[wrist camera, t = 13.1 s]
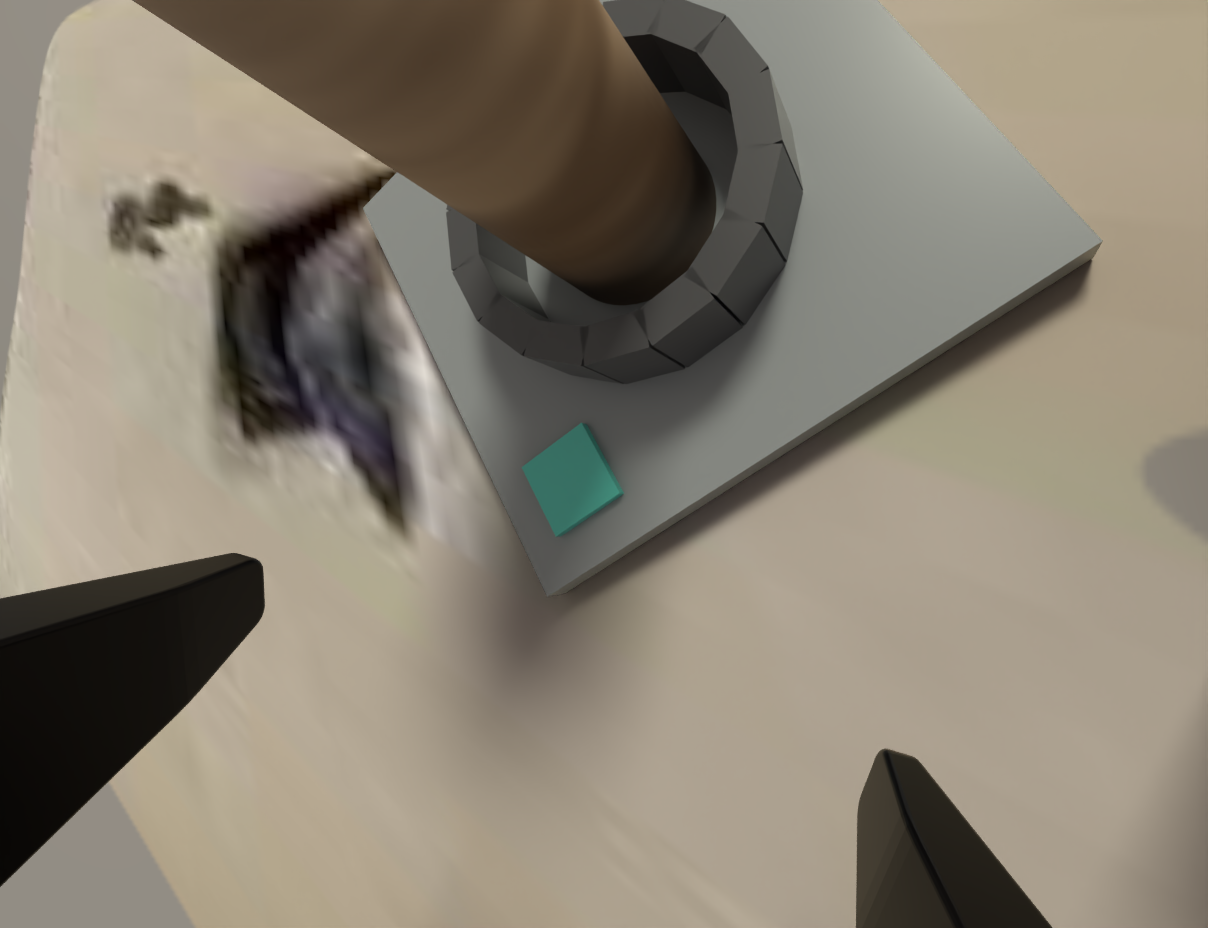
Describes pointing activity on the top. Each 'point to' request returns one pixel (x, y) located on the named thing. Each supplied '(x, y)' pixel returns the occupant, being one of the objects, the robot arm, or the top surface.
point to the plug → (492, 120)
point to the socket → (734, 274)
